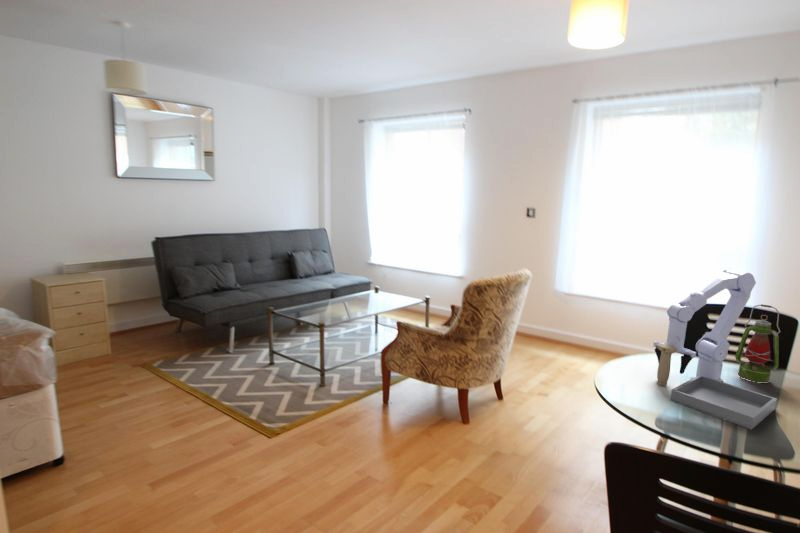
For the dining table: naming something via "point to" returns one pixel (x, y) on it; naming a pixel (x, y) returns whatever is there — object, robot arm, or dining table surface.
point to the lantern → (758, 350)
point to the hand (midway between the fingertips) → (671, 369)
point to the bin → (724, 401)
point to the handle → (664, 363)
